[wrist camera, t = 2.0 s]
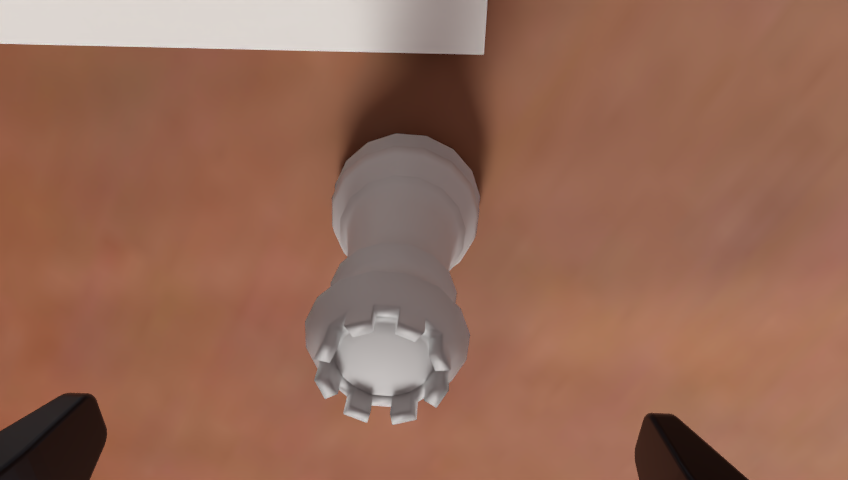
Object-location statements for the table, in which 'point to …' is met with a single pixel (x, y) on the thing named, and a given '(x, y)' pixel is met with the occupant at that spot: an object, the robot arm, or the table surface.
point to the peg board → (252, 24)
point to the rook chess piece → (395, 278)
